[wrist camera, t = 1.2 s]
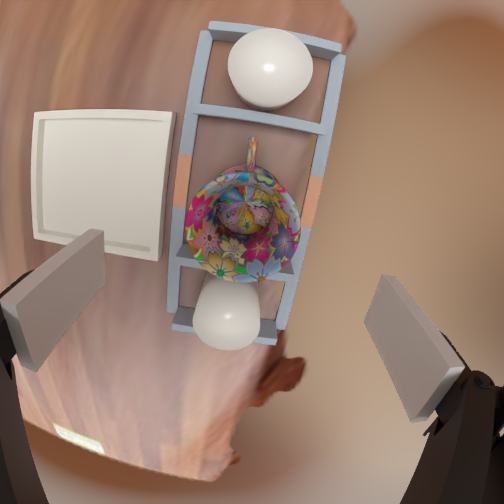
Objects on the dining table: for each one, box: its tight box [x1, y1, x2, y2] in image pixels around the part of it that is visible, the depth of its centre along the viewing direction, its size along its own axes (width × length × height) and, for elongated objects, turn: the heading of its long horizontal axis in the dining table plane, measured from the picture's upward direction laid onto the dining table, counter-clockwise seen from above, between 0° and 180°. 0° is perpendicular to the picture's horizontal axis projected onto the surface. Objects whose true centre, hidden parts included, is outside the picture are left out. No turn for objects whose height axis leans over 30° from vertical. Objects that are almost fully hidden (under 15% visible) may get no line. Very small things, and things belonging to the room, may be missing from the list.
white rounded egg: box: [193, 272, 260, 351], centre depth 34 cm, size 7×7×8 cm
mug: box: [185, 137, 301, 283], centre depth 28 cm, size 12×9×11 cm
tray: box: [31, 109, 177, 262], centre depth 31 cm, size 19×17×2 cm
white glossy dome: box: [228, 28, 313, 111], centre depth 25 cm, size 7×7×8 cm
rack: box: [167, 21, 346, 345], centre depth 31 cm, size 16×35×4 cm, turn 170°
